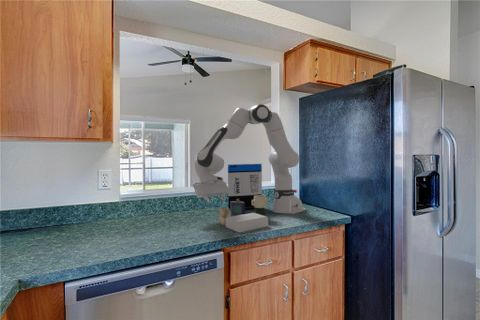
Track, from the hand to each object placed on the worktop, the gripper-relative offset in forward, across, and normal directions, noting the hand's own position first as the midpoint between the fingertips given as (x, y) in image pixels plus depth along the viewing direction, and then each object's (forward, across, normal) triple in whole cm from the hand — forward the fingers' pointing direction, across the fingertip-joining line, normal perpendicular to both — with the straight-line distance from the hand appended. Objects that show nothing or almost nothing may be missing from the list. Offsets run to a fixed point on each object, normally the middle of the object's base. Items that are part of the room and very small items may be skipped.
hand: (216, 201), depth 151 cm
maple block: (+13, 0, +2) cm, 13 cm away
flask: (+8, +14, +8) cm, 18 cm away
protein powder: (-4, +32, +20) cm, 37 cm away
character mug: (+15, +22, 0) cm, 27 cm away
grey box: (+22, +6, -6) cm, 23 cm away
